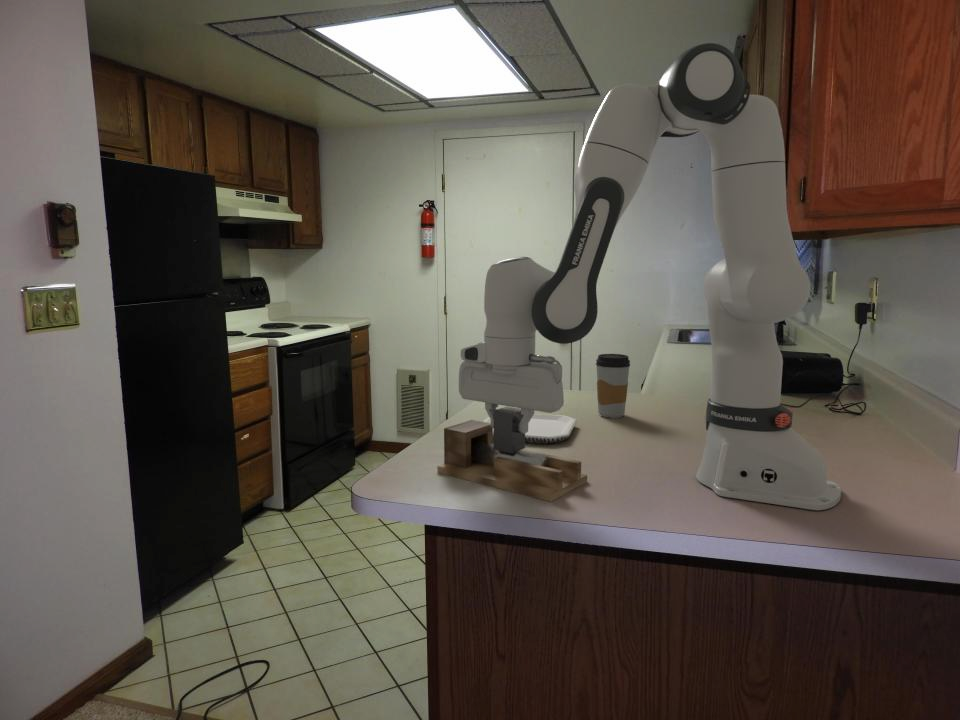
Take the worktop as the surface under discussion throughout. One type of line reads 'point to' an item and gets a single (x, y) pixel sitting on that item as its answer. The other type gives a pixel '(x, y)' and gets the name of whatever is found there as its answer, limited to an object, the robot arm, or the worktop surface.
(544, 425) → the plate
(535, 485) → the cradle
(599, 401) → the coffee cup
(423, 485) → the worktop surface
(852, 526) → the worktop surface
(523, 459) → the grey mallet
